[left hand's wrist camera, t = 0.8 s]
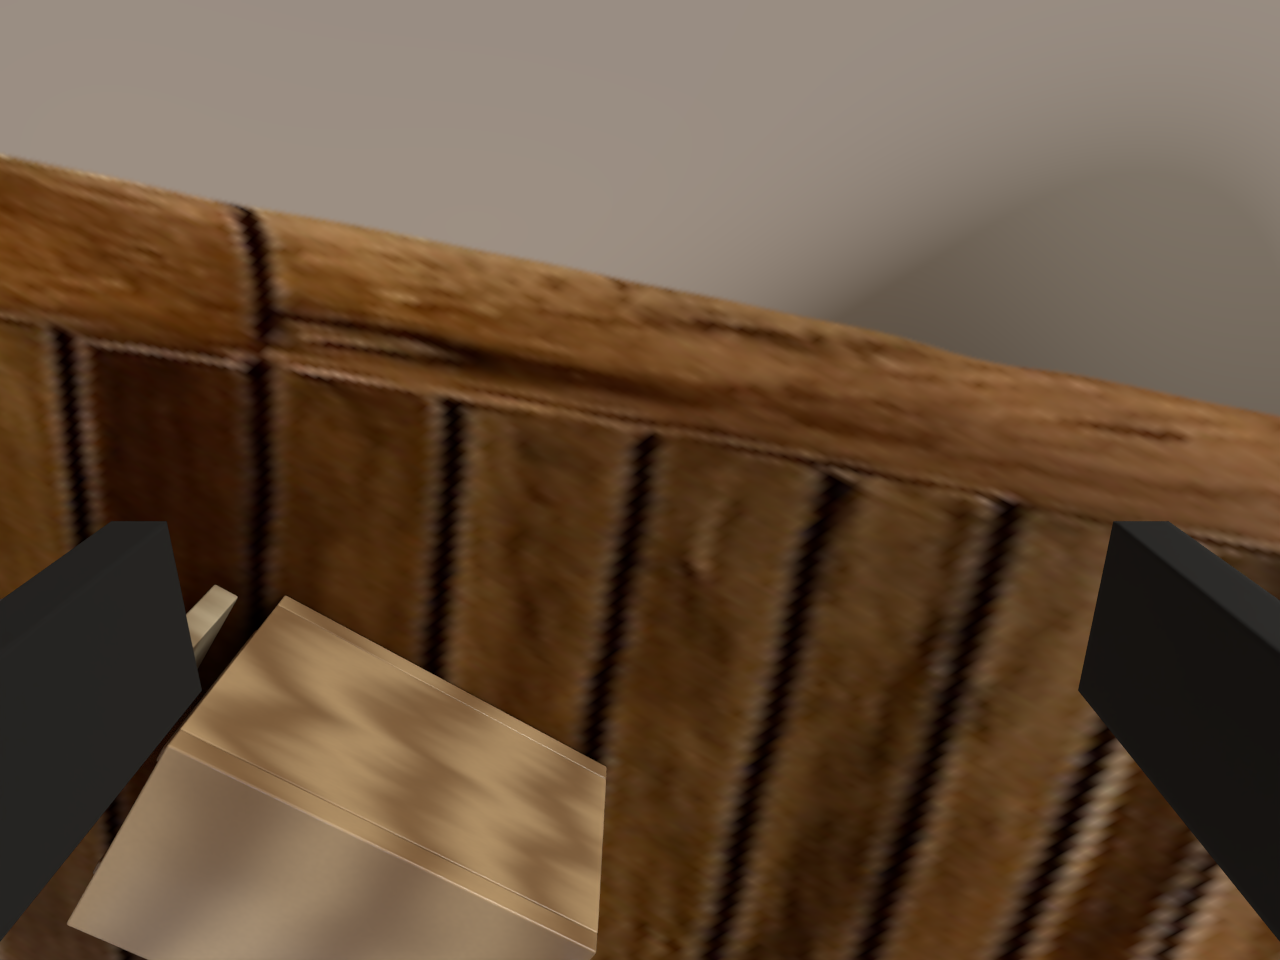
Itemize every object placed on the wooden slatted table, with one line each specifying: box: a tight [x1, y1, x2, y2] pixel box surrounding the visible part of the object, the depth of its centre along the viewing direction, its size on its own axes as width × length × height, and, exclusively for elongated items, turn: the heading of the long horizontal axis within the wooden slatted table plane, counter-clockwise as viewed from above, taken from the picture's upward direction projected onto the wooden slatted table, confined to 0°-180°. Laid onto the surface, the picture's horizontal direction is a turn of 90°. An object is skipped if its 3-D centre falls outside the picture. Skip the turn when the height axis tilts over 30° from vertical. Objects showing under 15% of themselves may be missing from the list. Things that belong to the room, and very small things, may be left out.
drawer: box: [0, 585, 257, 874], centre depth 39 cm, size 23×9×9 cm, turn 57°
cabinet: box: [67, 596, 607, 960], centre depth 40 cm, size 18×10×11 cm, turn 57°
